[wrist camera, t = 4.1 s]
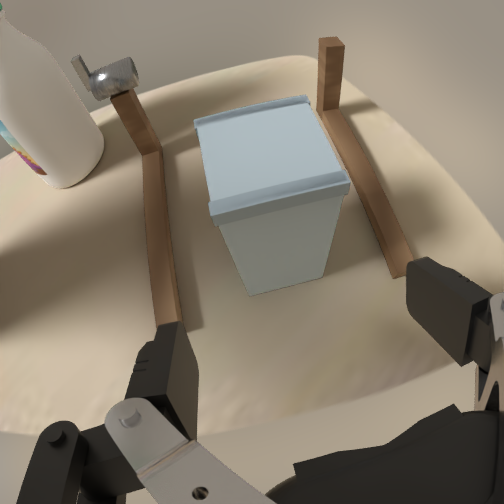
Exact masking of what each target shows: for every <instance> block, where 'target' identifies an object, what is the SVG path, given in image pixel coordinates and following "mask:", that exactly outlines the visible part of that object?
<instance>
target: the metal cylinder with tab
mask: <svg viewBox="0 0 504 504" xmlns="http://www.w3.org/2000/svg"><path fill="white" fill-rule="evenodd" d="M71 63H72V65H73V67H74V68H75V70H76V72H77V74H78V75H79V77H80V79H81V81H82V82H83V84H84V86H85V87H86V89H87V90H88V92H89V91H92V93H93V95H94V97H95V98H96V99H97V100H98V101H101V100H104V99H106V98H109V97H111V96H114V95H116V94H119V93H121V92H124V91H127V90H129V89H132V88H135V87H138V86H139V78H138V73H137V70H136V67H135V64H134V62H133V60H132V59H131V57H127V58H124V59H122V60H119V61H117V62H114V63H112V64H109V65H107V66H104V67H102V68H100V69H97V70H95V71H93V72H91V73H90V72H89V70H88V68H87V67H86V65H85V63H84V61H83V60H82V58H81V56H80V55H78V56H75V57H73V58H72V60H71Z"/></svg>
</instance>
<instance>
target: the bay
mask: <svg viewBox="0 0 504 504" xmlns="http://www.w3.org/2000/svg"><path fill="white" fill-rule="evenodd" d="M344 49H345V45H344V44H343V43H342V42H341V41H340V40H339V39H338V37H326V38H319V53H318V85H317V108H316V110H317V112H318V114H319V116H320V118H321V120H322V121H323V123H324V125H325V127H326V129H327V131H328V133H329V135H330V137H331V139H332V141H333V142H334V144H335V146H336V148H337V150H338V152H339V154H340V156H341V158H342V160H343V163H344V165H345V167H346V169H347V171H348V173H349V175H350V177H351V179H352V181H353V184H354V186H355V188H356V190H357V192H358V195H359V197H360V199H361V201H362V203H363V206H364V208H365V210H366V213H367V215H368V217H369V220H370V222H371V224H372V227H373V229H374V232H375V234H376V236H377V239H378V241H379V244H380V246H381V249H382V252H383V254H384V257H385V259H386V262H387V265H388V267H389V270H390V273H391V275H392V278H393V279H395V278H398V277H401V276H404V275H406V266H407V264H408V262H410V261H413V260H414V259H413V256H412V254H411V251H410V249H409V246H408V244H407V242H406V239H405V237H404V235H403V232H402V230H401V228H400V225H399V223H398V221H397V219H396V217H395V214H394V212H393V210H392V208H391V206H390V204H389V201H388V199H387V197H386V195H385V193H384V191H383V189H382V187H381V185H380V183H379V181H378V179H377V177H376V175H375V173H374V171H373V169H372V167H371V165H370V163H369V161H368V160H367V158H366V156H365V154H364V152H363V150H362V148H361V147H360V145H359V143H358V141H357V139H356V138H355V136H354V134H353V132H352V131H351V129H350V127H349V125H348V124H347V122H346V120H345V119H344V117H343V115H342V114H341V112H340V110H339V100H340V91H341V82H342V72H343V60H344ZM110 100H111V102H112V104H113V106H114V108H115V109H116V111H117V113H118V115H119V116H120V118H121V120H122V122H123V123H124V125H125V127H126V129H127V130H128V132H129V134H130V136H131V137H132V139H133V141H134V143H135V144H136V146H137V148H138V149H139V151H140V153H141V155H142V164H143V192H144V211H145V226H146V239H147V251H148V262H149V272H150V281H151V290H152V298H153V306H154V314H155V321H156V328H158V325H161V324H165V323H170V322H175V321H181V322H182V324H183V320H182V314H181V308H180V302H179V295H178V289H177V282H176V275H175V268H174V260H173V253H172V245H171V237H170V228H169V220H168V210H167V201H166V190H165V179H164V168H163V155H162V146H161V144H160V142H159V140H158V138H157V136H156V134H155V132H154V130H153V128H152V126H151V124H150V122H149V120H148V118H147V116H146V114H145V112H144V110H143V108H142V106H141V104H140V102H139V100H138V98H137V95H136V93H135V91H134V89H133V88H132V89H129V90H127V91H124V92H121V93H119V94H116V95H114V96H111V98H110Z"/></svg>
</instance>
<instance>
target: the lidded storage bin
mask: <svg viewBox="0 0 504 504" xmlns="http://www.w3.org/2000/svg"><path fill="white" fill-rule="evenodd" d="M193 121H194V127H195V130H196V133H197V136H198V139H199V142H200V148H201V153H202V159H203V164H204V170H205V175H206V180H207V186H208V191H209V196H210V202H208V206H209V211H210V216H211V219H212V221H213V223H214V225H215V227H216V226H219V229H220V231H221V233H222V236H223V238H224V240H225V243H226V245H227V247H228V249H229V252H230V254H231V256H232V258H233V261H234V263H235V265H236V267H237V270H238V272H239V274H240V277H241V279H242V281H243V283H244V285H245V288H246V290H247V292H248V294H249V296H253V295H257V294H261V293H265V292H269V291H273V290H277V289H280V288H284V287H288V286H292V285H296V284H300V283H303V282H307V281H311V280H315V279H318V278H322V276H323V273H324V269H325V266H326V262H327V259H328V255H329V251H330V248H331V244H332V240H333V236H334V232H335V229H336V225H337V221H338V217H339V213H340V209H341V205H342V201H343V197H344V195H347V194H348V191H349V187H350V183H351V182H350V180H349V178H348V176H347V173H346V171H345V170H342V169H341V166H340V164H339V162H338V160H337V158H336V156H335V154H334V152H333V150H332V148H331V146H330V144H329V142H328V140H327V138H326V136H325V134H324V132H323V130H322V128H321V126H320V124H319V122H318V120H317V119H316V117H315V115H314V113H313V111H312V109H311V107H310V101H309V100H308V98H307V96H306V95H300V96H295V97H289V98H284V99H278V100H273V101H268V102H264V103H259V104H254V105H250V106H245V107H241V108H237V109H233V110H229V111H224V112H221V113H217V114H213V115H209V116H205V117H202V118H198V119H194V120H193Z"/></svg>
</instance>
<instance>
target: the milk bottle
mask: <svg viewBox="0 0 504 504" xmlns="http://www.w3.org/2000/svg"><path fill="white" fill-rule="evenodd" d="M4 15H5V12H4V11H3V9H2V5H1V3H0V134H1V135H2V137H3V138H4V139H5V140H6V141H7V142H8V143H9V145H10V146H11V147H12V148H13V149H14V150H15V151H16V152H17V153H18V154H19V155H20V157H21V158H22V159H23V160H24V161H25V162H26V163H27V164H28V165H29V166H30V167H31V168H32V169H33V170H34V171H35V172H36V173H37V174H38V175H39V176H40V177H41V178H42V179H43V180H44V181H45V182H46V183H47V184H48V185H49V186H51V187H54V188H60V189H62V188H67V187H70V186H72V185H74V184H76V183H78V182H79V181H81V180H82V179H84V178H85V177H86V176H87V175H88V174H89V173H90V172H91V171H92V170H93V169H94V168H95V166H96V165H97V163H98V162H99V160H100V158H101V156H102V153H103V151H104V137H103V135H102V133H101V131H100V130H99V128H98V126H97V125H96V123H95V122H94V120H93V119H92V117H91V116H90V114H89V112H88V111H87V110H86V108H85V106H84V105H83V103H82V101H81V100H80V98H79V97H78V95H77V93H76V92H75V91H74V89H73V87H72V86H71V84H70V82H69V81H68V79H67V78H66V76H65V74H64V73H63V71H62V70H61V68H60V67H59V65H58V64H57V62H56V61H55V59H54V58H53V56H52V55H51V54H50V53H49V52H48V50H47V49H46V48H45V47H44V46H43V45H41V44H40V43H38V42H37V41H35V40H34V39H32V38H30V37H28V36H26V35H24V34H22V33H21V32H19V31H18V30H16V29H15V28H14V27H13V26H12V25H10V24H9V23H8V21H7V20H6V18H5V16H4Z"/></svg>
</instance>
